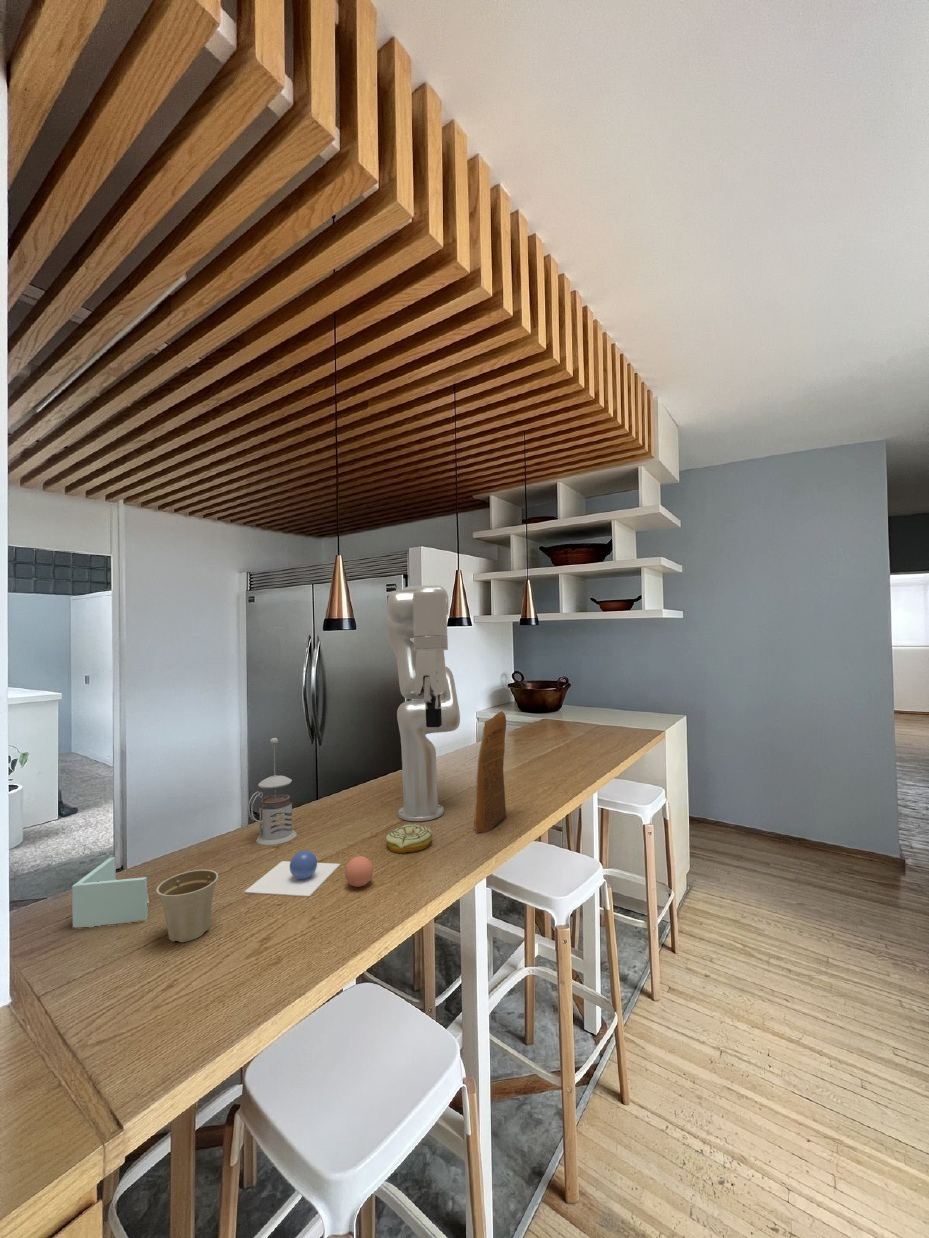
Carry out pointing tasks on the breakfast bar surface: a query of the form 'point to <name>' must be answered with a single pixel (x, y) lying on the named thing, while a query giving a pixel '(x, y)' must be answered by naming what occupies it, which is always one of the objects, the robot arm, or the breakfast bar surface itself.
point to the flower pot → (188, 903)
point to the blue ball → (303, 865)
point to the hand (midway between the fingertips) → (434, 726)
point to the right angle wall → (108, 898)
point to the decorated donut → (409, 838)
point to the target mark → (291, 881)
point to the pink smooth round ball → (359, 871)
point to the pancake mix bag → (491, 776)
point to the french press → (274, 811)
